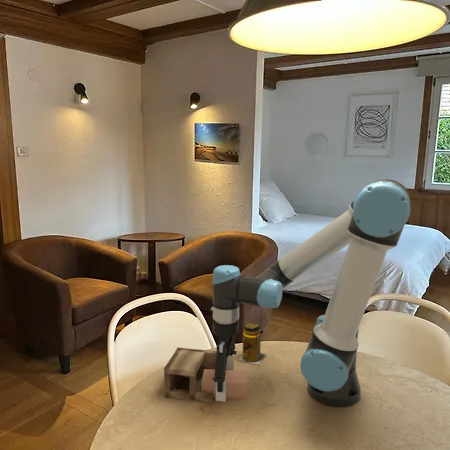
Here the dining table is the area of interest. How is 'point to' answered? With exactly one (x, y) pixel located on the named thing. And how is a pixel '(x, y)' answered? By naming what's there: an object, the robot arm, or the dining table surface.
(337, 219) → the robot arm
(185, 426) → the dining table surface
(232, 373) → the pink rectangular block
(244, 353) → the condiment
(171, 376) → the dock
